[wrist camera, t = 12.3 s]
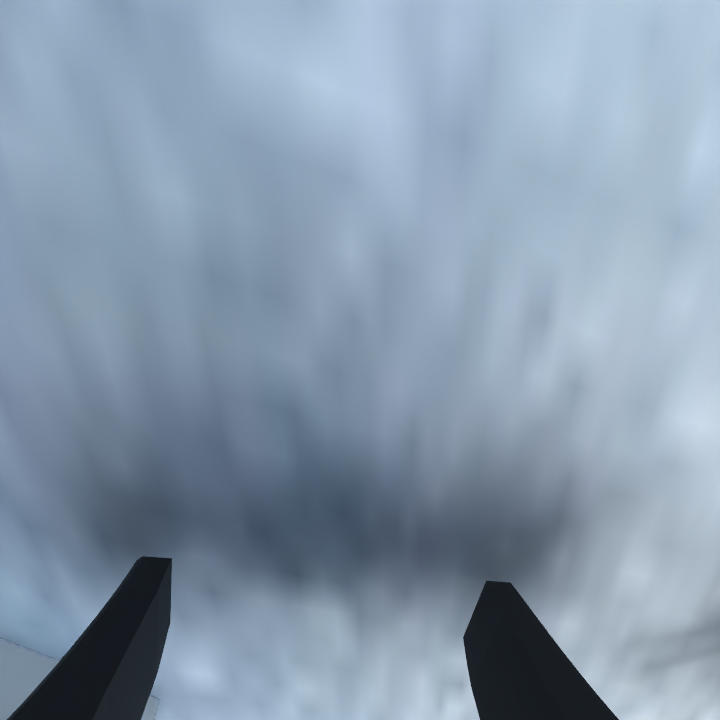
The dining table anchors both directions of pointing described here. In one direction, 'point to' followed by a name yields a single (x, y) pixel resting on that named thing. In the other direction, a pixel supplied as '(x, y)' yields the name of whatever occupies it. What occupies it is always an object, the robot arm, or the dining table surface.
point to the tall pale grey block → (32, 678)
